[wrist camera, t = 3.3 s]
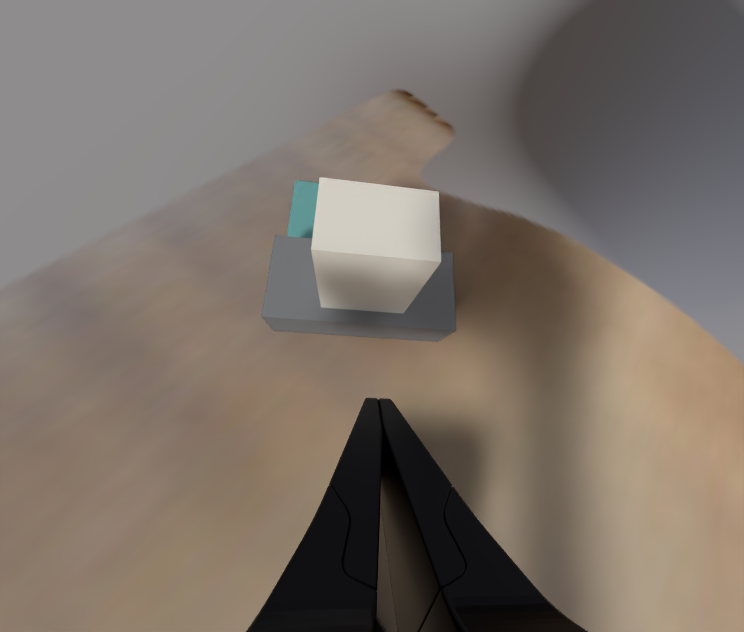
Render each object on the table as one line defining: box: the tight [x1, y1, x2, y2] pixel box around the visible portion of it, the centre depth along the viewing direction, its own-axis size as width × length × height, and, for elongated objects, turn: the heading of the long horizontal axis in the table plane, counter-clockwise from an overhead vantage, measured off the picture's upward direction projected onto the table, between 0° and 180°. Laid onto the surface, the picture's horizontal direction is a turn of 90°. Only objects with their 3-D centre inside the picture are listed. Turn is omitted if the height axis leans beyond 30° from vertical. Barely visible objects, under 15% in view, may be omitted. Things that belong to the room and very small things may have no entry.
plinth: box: [261, 235, 456, 342], centre depth 23 cm, size 6×14×4 cm, turn 88°
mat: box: [287, 180, 319, 239], centre depth 27 cm, size 8×14×1 cm, turn 88°
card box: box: [311, 177, 441, 314], centre depth 17 cm, size 4×6×8 cm, turn 88°
